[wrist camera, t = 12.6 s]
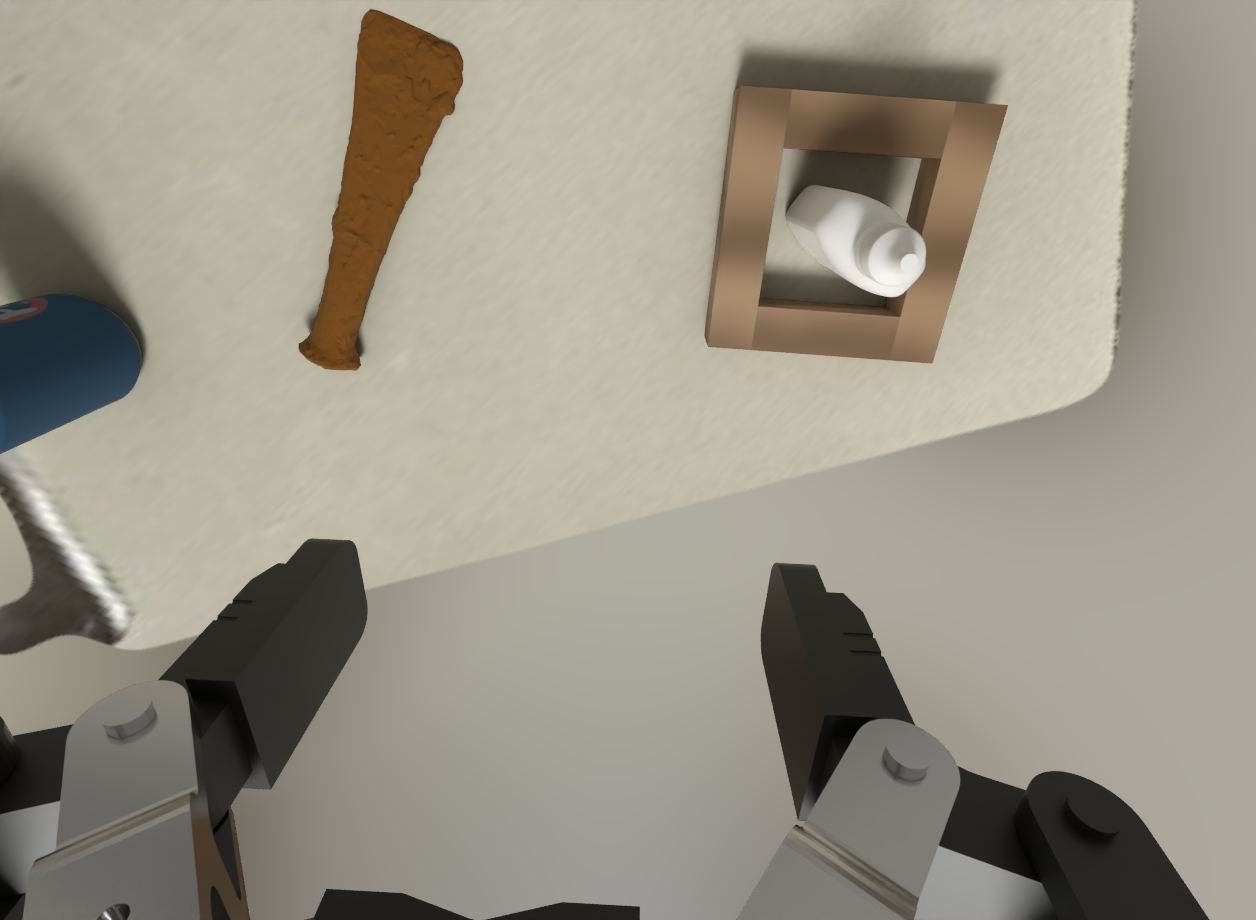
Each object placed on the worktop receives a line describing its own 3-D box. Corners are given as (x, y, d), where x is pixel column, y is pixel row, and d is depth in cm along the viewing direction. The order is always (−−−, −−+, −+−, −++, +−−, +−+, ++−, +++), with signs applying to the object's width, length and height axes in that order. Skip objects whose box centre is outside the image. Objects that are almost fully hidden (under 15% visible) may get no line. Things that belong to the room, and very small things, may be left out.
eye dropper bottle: (808, 292, 37) (873, 348, 26) (777, 198, 35) (834, 218, 24) (881, 260, 36) (980, 305, 25) (854, 162, 34) (950, 165, 23)
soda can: (77, 266, 38) (-153, 310, 27) (174, 355, 40) (-2, 430, 29) (18, 333, 40) (-218, 400, 29) (114, 415, 42) (-72, 505, 31)
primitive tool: (369, 6, 32) (338, -10, 29) (472, 52, 32) (453, 42, 29) (312, 347, 40) (283, 364, 37) (395, 377, 41) (374, 397, 37)
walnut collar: (734, 90, 32) (740, 85, 30) (983, 108, 32) (1008, 105, 30) (704, 335, 38) (707, 346, 36) (915, 351, 38) (932, 363, 36)
